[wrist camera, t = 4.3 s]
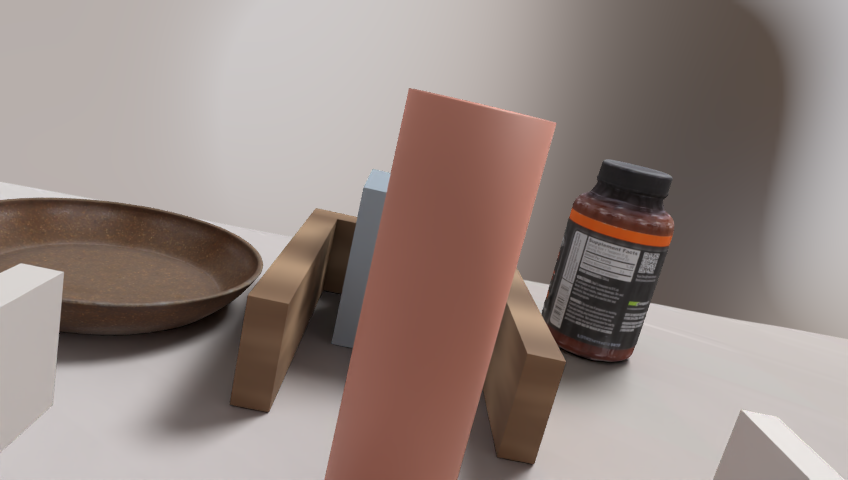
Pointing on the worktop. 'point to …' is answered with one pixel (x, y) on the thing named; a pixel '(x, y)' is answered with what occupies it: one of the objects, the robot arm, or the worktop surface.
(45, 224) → the saucer
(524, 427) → the wooden u-shaped frame
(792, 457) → the robot arm
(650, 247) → the supplement bottle
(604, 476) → the worktop surface
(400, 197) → the block
